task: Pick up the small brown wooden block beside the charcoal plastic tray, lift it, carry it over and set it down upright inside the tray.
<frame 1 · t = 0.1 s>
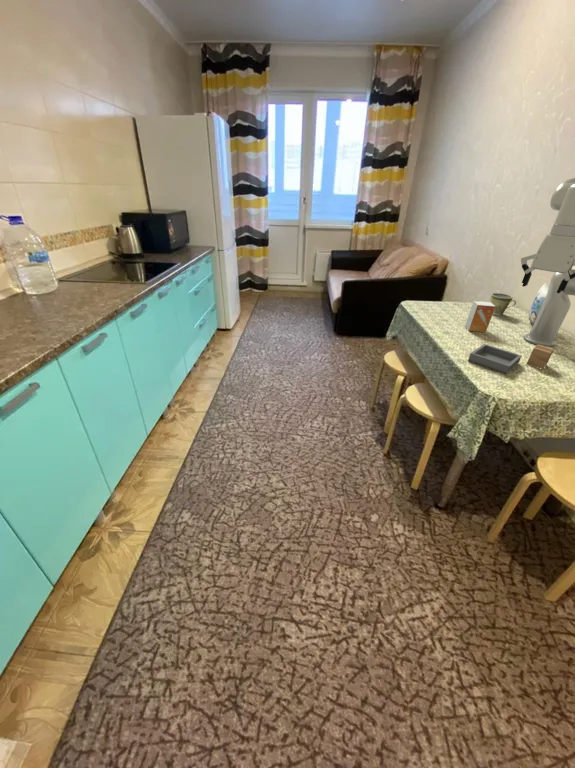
hand: (541, 289, 107), 31 cm above the table, tool pointing down, fingers open, 9 cm apart
ceramic cup: (497, 314, 180), on the table
small box: (474, 329, 160), on the table
tray: (492, 362, 130), on the table
wooden block: (536, 364, 130), on the table
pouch: (533, 328, 165), on the table
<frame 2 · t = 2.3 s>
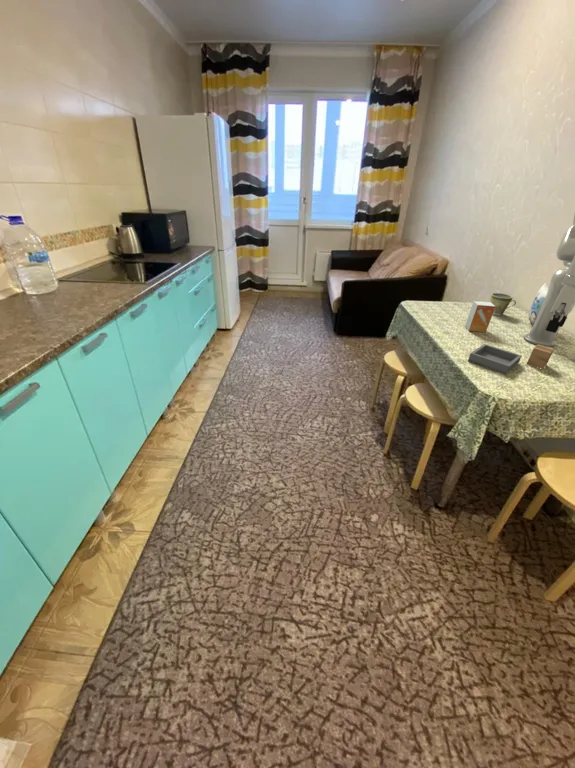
hand: (553, 328, 121), 15 cm above the table, tool pointing down, fingers open, 9 cm apart
nothing on the table moved.
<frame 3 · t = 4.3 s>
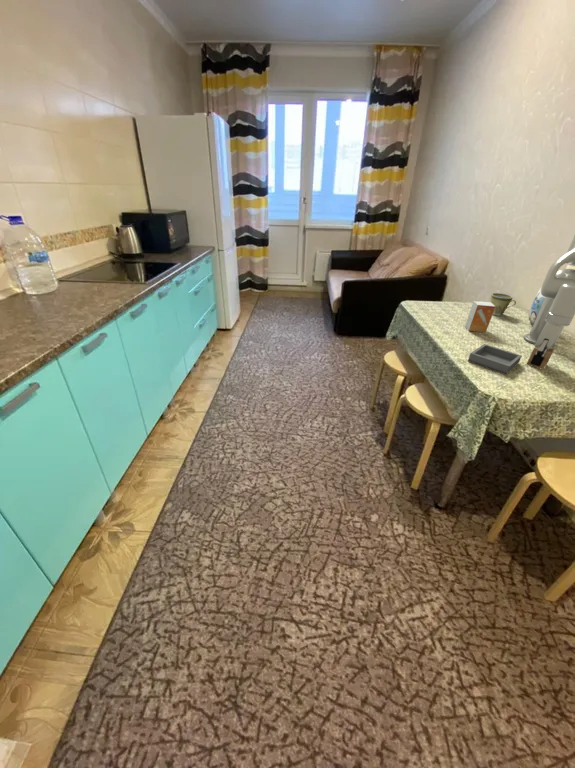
hand: (537, 362, 129), 1 cm above the table, tool pointing down, fingers closed on wooden block, 5 cm apart
wooden block: (536, 364, 129), on the table, touching gripper
everything else where it was.
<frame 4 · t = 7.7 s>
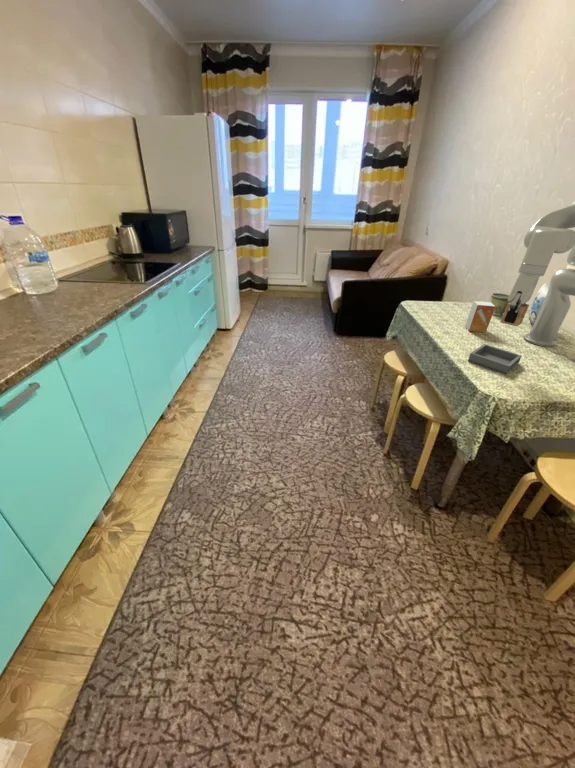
hand: (511, 319, 121), 18 cm above the table, tool pointing down, fingers closed on wooden block, 5 cm apart
wooden block: (510, 322, 121), point 17 cm above the table, touching gripper
everything else where it was.
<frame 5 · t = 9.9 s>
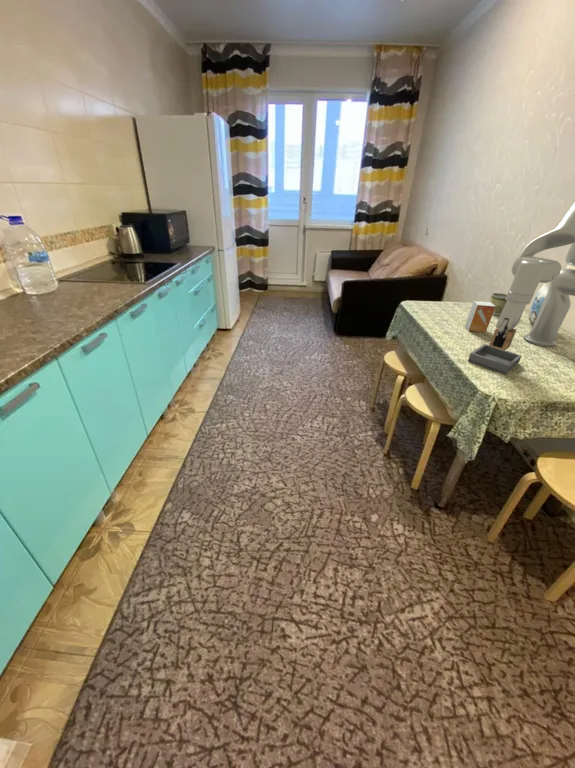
hand: (500, 343, 125), 8 cm above the table, tool pointing down, fingers closed on wooden block, 5 cm apart
wooden block: (499, 346, 126), point 7 cm above the table, touching gripper
everything else where it was.
when the fingers open (3 cm above the table, at t = 11.3 s): wooden block drops 1 cm, resting on tray.
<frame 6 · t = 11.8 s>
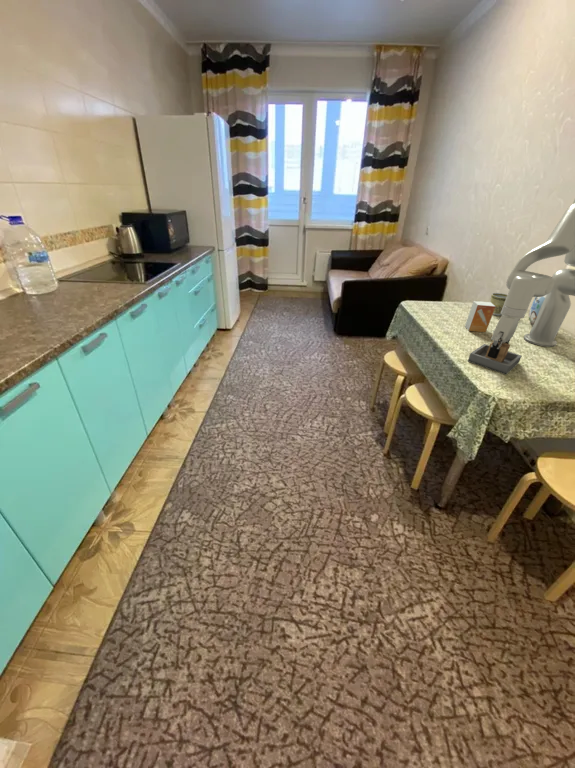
hand: (496, 353, 128), 4 cm above the table, tool pointing down, fingers open, 9 cm apart
wooden block: (493, 360, 129), point 1 cm above the table, touching tray
everything else where it was.
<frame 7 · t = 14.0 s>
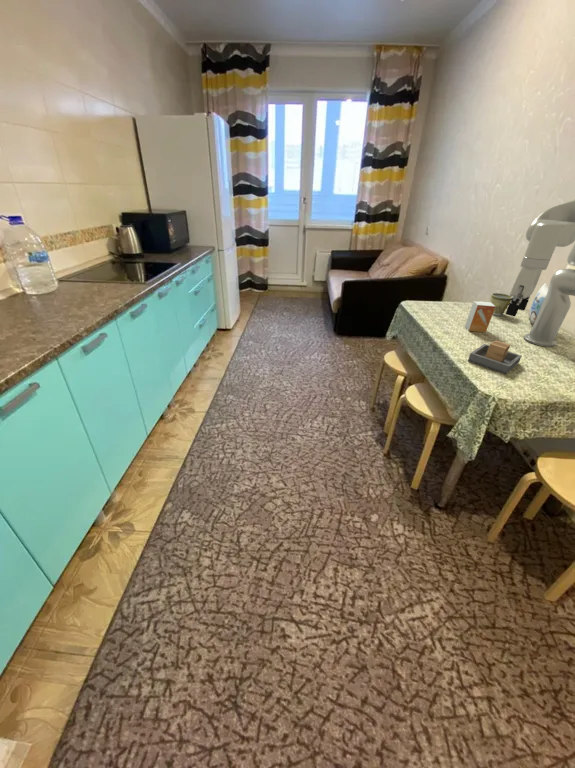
hand: (515, 312, 119), 20 cm above the table, tool pointing down, fingers open, 9 cm apart
nothing on the table moved.
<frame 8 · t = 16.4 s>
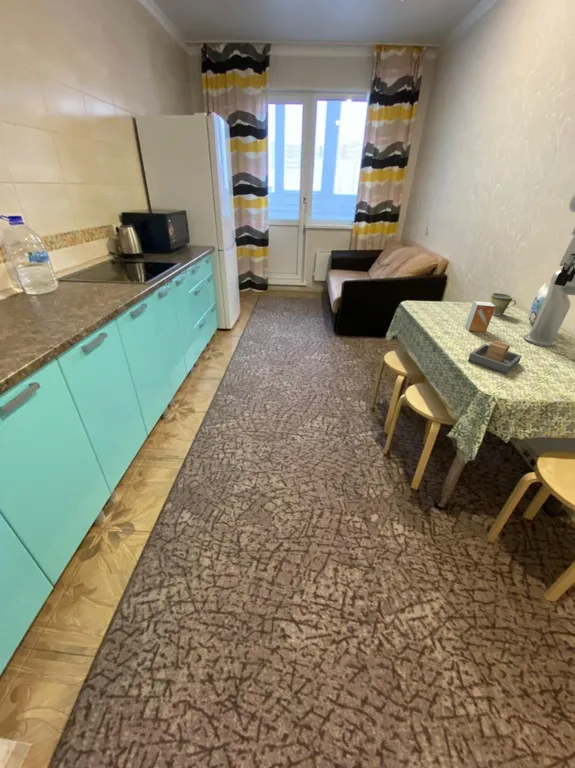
hand: (562, 283, 118), 30 cm above the table, tool pointing down, fingers open, 9 cm apart
nothing on the table moved.
at the end: wooden block inside the target area on the tray (0.1 cm from its centre), point 0.8 cm above the tray's base; wooden block tilted 0°; the gripper is holding nothing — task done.
